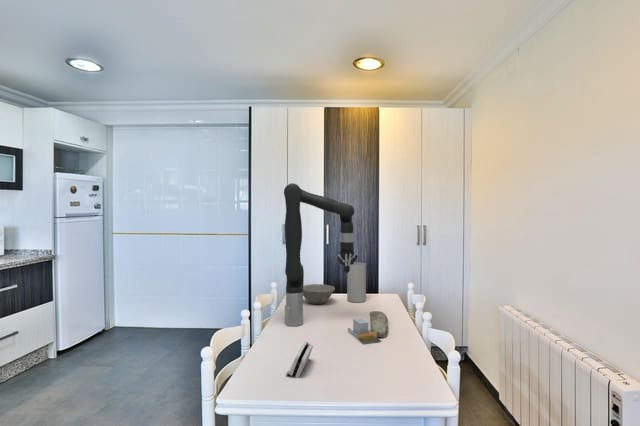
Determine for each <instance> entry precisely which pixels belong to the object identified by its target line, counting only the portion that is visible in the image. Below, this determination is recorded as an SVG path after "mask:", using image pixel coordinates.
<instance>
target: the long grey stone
mask: <svg viewBox="0 0 640 426" xmlns="http://www.w3.org/2000/svg"><path fill="white" fill-rule="evenodd" d="M369 319H370V331H371V332H376V333H377V338H385V336H386V335H387V334H388V330H389V327H388V325H389V321H388V320H389V319H388V317H387V315H386V314H385V313H384V312H382V311H376V310H373V311H370V312H369Z"/></svg>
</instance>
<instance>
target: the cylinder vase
mask: <svg viewBox="0 0 640 426" xmlns="http://www.w3.org/2000/svg"><path fill="white" fill-rule="evenodd" d="M346 274H347V280H346V283H347V285H346V287H347V288H346V290H347V291H346V292H347V293H346V295H347V297H346V299H347V301H348V302H350V303H355V304H357V303H360V304H361V303H364V302H366V300H367V296H366V295H367V294H366V293H367V292H366V291H367V287H366V286H367V263H364V262H357V261H355V262H354V263H353V265H350V271H349V273H346Z"/></svg>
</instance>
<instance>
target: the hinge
mask: <svg viewBox="0 0 640 426" xmlns="http://www.w3.org/2000/svg"><path fill="white" fill-rule="evenodd" d="M313 348H314V345H313V344H312V343H309V342H307V341H304V342H303V343H302V345H301V346H300V348H299V350H298V351H297V353H296V355H295V357H294V360H293V362H292V363H291V364H290V366H289V368H288V369H287V371H286V373H285V377H288V375H289V376H294V377H295V378H297V379H299V377H300V376H301V374H302V372H303V370H304V368H305V366H306V365H307V363H308V361H309V359H310V356H311V353H312V351H313Z"/></svg>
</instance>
